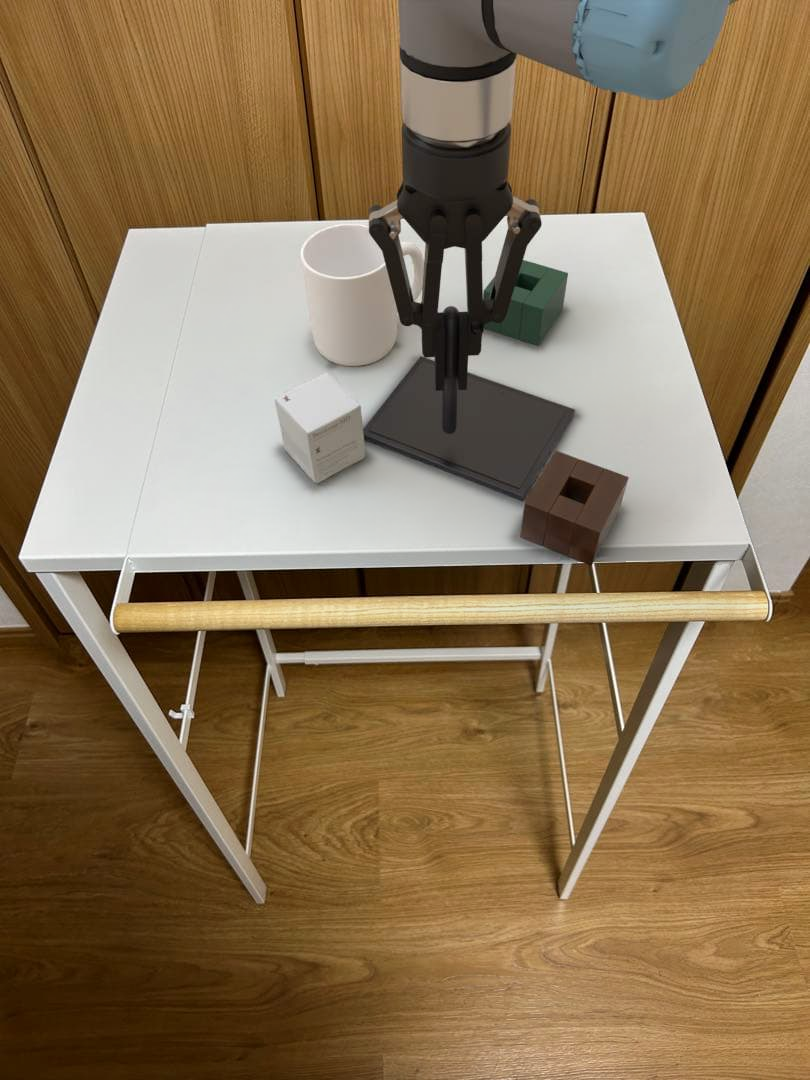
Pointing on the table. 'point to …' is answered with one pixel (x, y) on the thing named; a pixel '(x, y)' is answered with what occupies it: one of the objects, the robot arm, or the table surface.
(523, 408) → the tablet
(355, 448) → the product box
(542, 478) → the holder
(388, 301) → the cup
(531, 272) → the stand
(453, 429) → the stylus
